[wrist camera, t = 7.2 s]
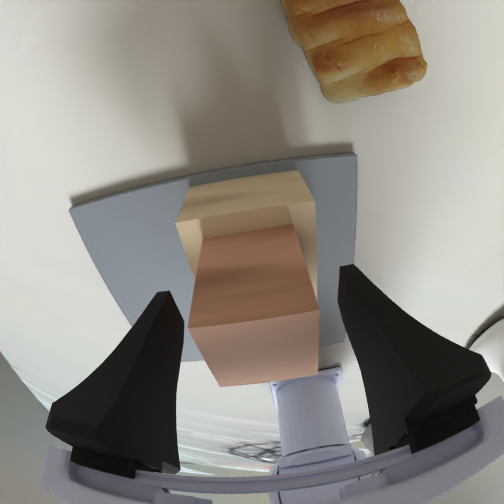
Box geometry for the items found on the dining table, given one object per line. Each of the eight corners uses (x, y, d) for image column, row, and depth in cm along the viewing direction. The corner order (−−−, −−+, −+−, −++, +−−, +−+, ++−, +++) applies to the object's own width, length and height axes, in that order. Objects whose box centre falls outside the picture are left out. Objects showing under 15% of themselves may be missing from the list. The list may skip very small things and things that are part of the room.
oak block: (304, 257, 18) (316, 301, 15) (213, 270, 18) (208, 316, 15) (297, 169, 15) (315, 200, 11) (189, 187, 15) (174, 222, 12)
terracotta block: (299, 290, 14) (317, 374, 10) (223, 302, 15) (220, 386, 11) (293, 223, 12) (319, 309, 8) (202, 239, 12) (187, 328, 8)
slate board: (341, 336, 24) (343, 341, 24) (157, 357, 26) (157, 362, 25) (353, 152, 15) (357, 155, 14) (72, 205, 16) (68, 210, 15)
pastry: (238, -26, 9) (239, -54, 5) (344, -55, 7) (370, -79, 4) (325, 110, 13) (351, 121, 10) (417, 73, 12) (457, 79, 9)
